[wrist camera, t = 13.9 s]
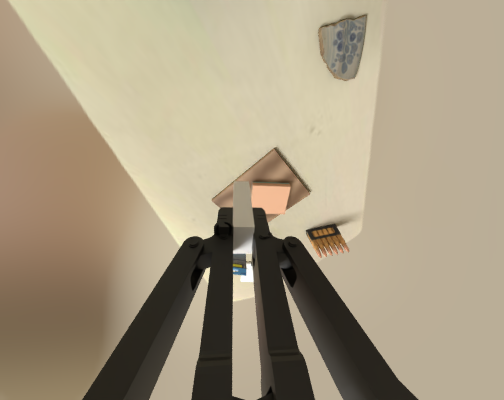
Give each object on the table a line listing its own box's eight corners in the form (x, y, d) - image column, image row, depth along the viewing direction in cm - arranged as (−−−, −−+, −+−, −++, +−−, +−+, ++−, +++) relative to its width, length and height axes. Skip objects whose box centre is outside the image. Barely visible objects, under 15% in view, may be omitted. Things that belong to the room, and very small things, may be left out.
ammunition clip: (306, 233, 69) (318, 260, 59) (305, 230, 68) (317, 256, 58) (334, 227, 68) (351, 253, 58) (334, 223, 67) (352, 249, 57)
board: (212, 199, 57) (211, 200, 56) (273, 148, 49) (274, 149, 49) (251, 231, 66) (251, 233, 65) (309, 192, 58) (310, 194, 58)
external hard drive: (240, 278, 83) (243, 260, 76) (258, 278, 84) (263, 261, 77) (240, 281, 81) (244, 264, 74) (258, 282, 82) (263, 264, 76)
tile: (250, 213, 57) (284, 214, 58) (252, 185, 52) (290, 186, 53) (249, 209, 59) (283, 209, 60) (252, 181, 54) (288, 183, 55)
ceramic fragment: (320, 16, 35) (376, 10, 34) (316, 20, 37) (368, 15, 36) (313, 83, 40) (360, 80, 40) (310, 83, 43) (355, 80, 42)
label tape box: (220, 250, 71) (218, 280, 60) (222, 243, 68) (220, 272, 58) (243, 253, 72) (244, 282, 62) (245, 246, 70) (247, 275, 60)
